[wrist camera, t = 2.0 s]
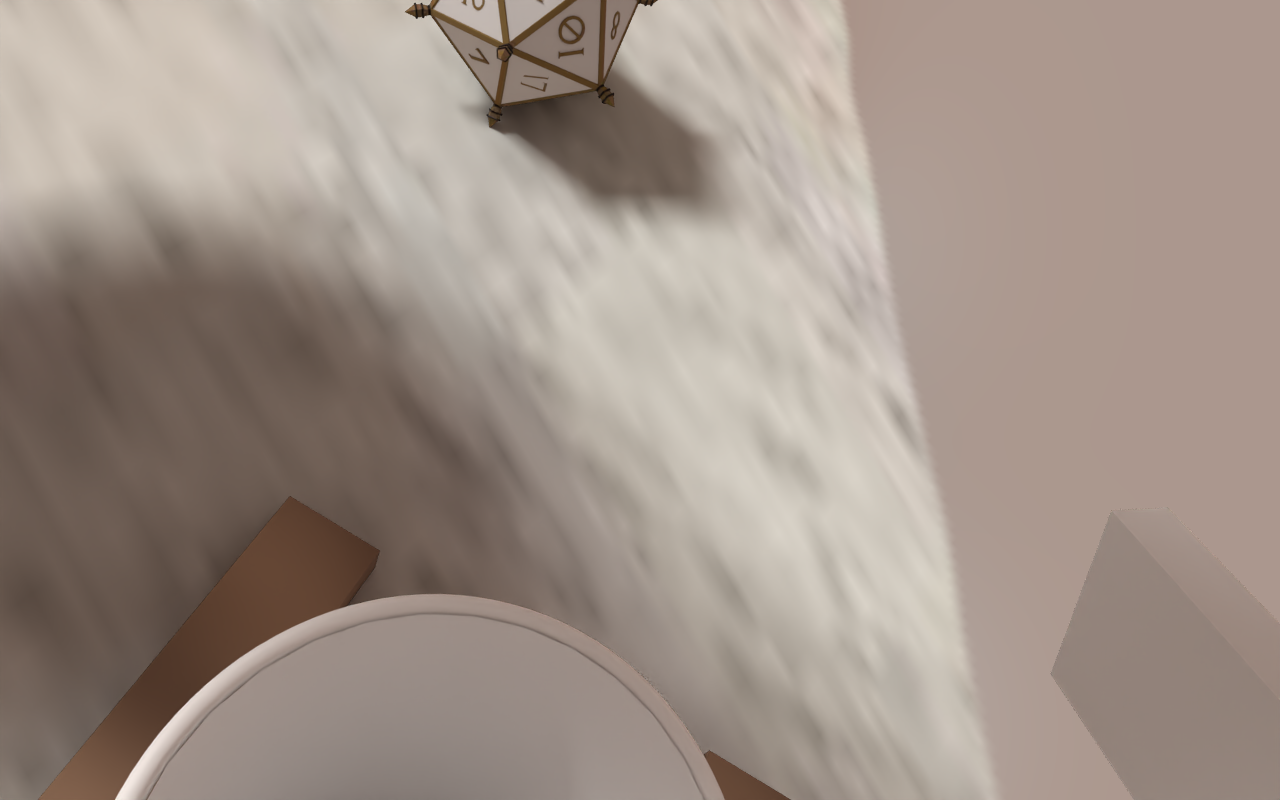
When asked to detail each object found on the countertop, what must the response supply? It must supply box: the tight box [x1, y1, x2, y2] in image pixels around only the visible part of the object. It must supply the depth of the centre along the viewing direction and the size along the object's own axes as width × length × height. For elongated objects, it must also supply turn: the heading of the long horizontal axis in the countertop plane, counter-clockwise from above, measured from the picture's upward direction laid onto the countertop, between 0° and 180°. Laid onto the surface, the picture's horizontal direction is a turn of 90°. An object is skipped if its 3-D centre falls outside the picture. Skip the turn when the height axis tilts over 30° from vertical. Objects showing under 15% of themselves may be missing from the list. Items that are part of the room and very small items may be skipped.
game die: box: [405, 0, 657, 127], centre depth 40 cm, size 9×8×10 cm
